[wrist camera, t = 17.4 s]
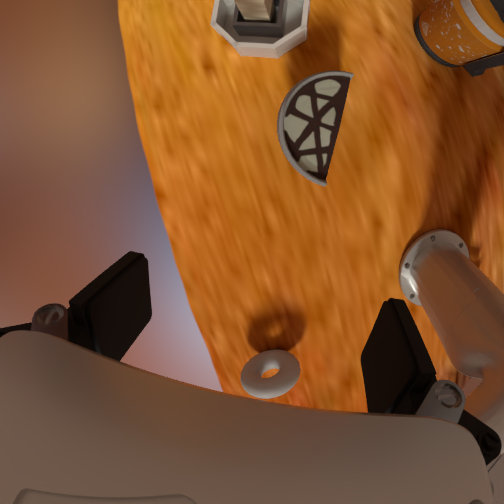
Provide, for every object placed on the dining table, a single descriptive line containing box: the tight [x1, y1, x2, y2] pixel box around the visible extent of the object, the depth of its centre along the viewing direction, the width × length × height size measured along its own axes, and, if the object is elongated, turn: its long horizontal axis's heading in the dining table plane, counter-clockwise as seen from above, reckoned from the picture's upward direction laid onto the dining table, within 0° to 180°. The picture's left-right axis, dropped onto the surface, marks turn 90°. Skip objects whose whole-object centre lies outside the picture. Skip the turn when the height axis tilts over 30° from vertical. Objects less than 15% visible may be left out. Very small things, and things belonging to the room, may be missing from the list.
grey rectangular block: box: [234, 0, 277, 23], centre depth 23 cm, size 3×3×9 cm
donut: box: [241, 349, 300, 399], centre depth 43 cm, size 10×4×10 cm, turn 109°
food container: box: [277, 71, 354, 186], centre depth 28 cm, size 12×6×10 cm, turn 168°
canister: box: [415, 0, 504, 77], centre depth 15 cm, size 9×11×20 cm
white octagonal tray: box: [210, 0, 310, 59], centre depth 26 cm, size 11×11×4 cm
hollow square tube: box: [232, 0, 288, 38], centre depth 25 cm, size 6×6×4 cm
